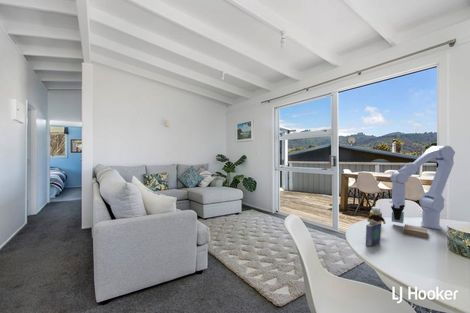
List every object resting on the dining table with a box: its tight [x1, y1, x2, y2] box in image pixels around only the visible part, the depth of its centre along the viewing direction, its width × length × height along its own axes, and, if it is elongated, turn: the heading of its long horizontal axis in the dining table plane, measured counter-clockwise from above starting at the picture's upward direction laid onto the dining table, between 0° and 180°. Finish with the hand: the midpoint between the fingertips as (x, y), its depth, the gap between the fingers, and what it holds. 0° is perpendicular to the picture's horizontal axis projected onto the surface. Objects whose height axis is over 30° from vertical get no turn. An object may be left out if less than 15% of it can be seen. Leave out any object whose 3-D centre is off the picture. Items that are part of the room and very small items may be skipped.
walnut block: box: [402, 224, 428, 239], centre depth 114 cm, size 9×9×3 cm
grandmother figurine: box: [367, 208, 386, 225], centre depth 113 cm, size 8×4×13 cm, turn 68°
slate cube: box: [391, 210, 405, 224], centre depth 126 cm, size 5×5×5 cm
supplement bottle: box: [368, 206, 383, 225], centre depth 124 cm, size 6×6×10 cm
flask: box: [365, 219, 382, 247], centre depth 100 cm, size 9×3×11 cm, turn 121°
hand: (397, 218), depth 126 cm, fingers closed on slate cube, 5 cm apart
